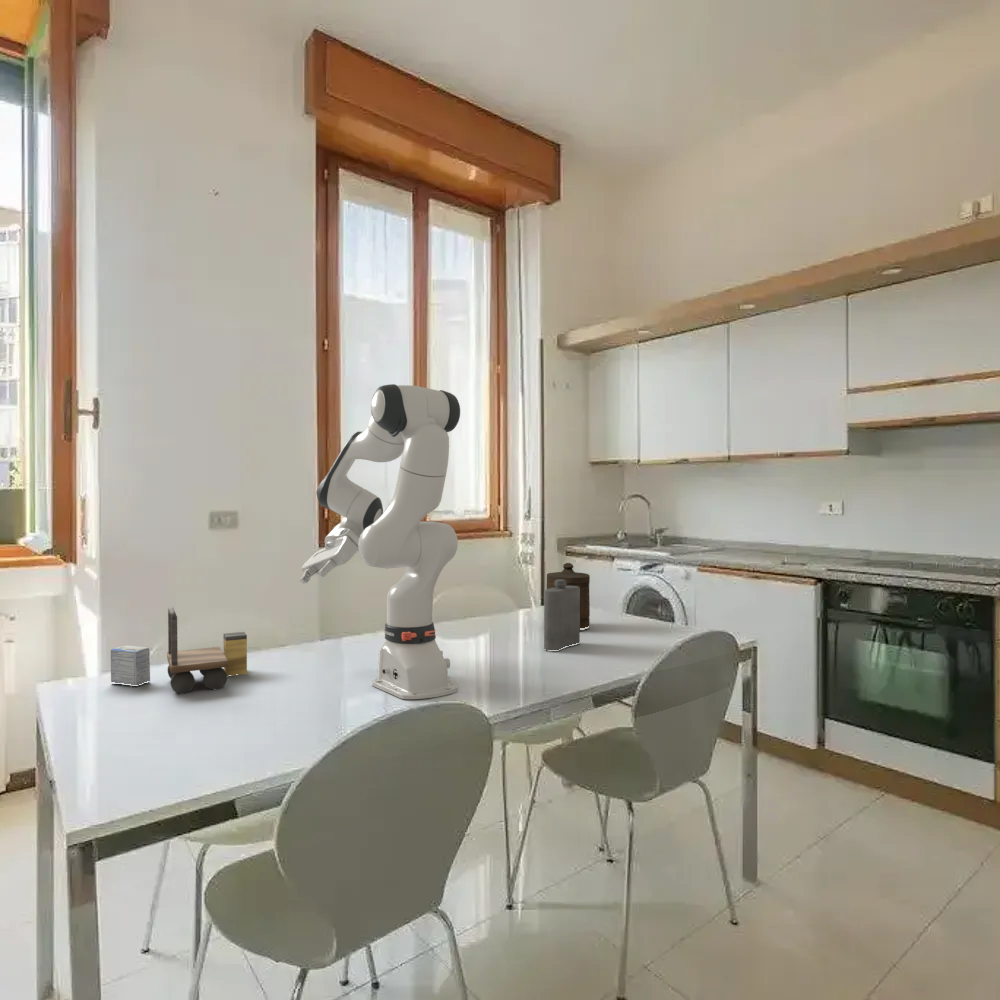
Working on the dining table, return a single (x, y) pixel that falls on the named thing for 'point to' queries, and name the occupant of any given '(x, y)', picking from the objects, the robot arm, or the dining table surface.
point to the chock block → (235, 652)
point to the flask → (561, 616)
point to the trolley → (193, 662)
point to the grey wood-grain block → (130, 665)
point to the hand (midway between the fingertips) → (311, 578)
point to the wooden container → (574, 580)
